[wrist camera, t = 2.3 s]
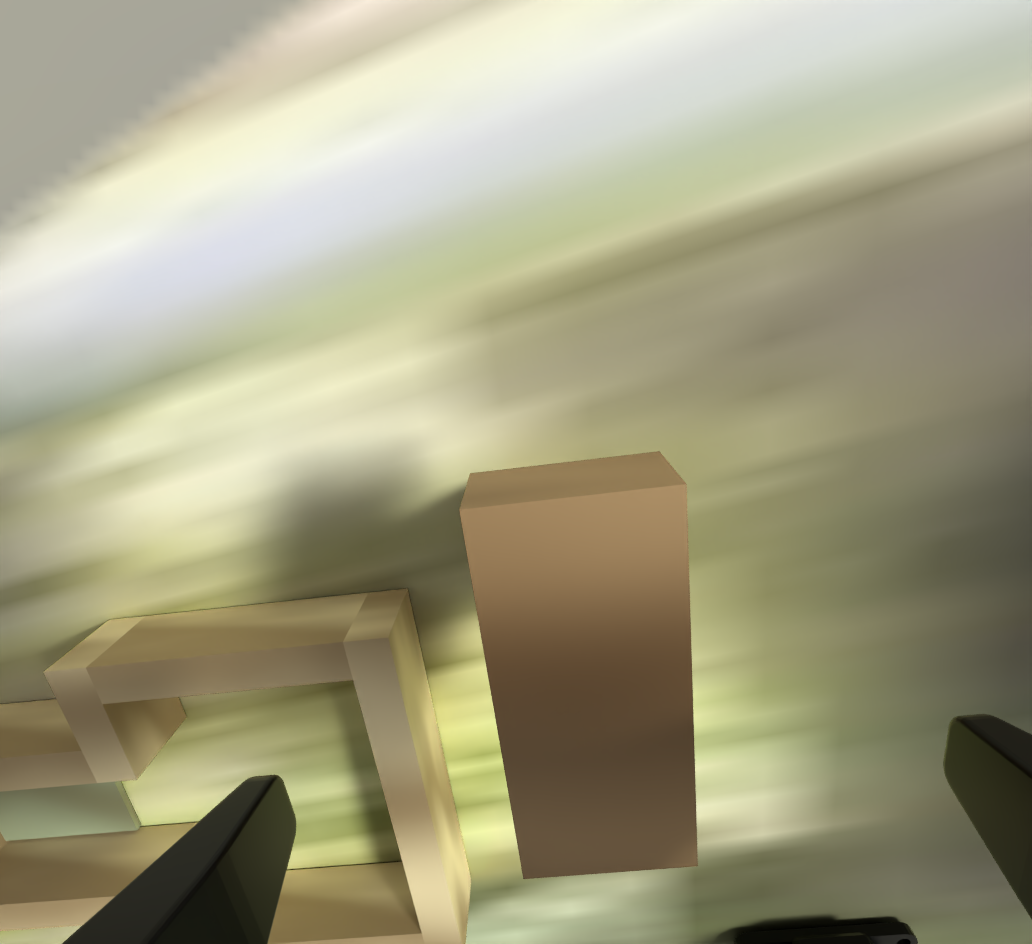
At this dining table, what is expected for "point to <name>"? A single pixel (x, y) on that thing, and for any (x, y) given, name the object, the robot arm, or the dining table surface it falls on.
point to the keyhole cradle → (158, 713)
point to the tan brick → (589, 658)
